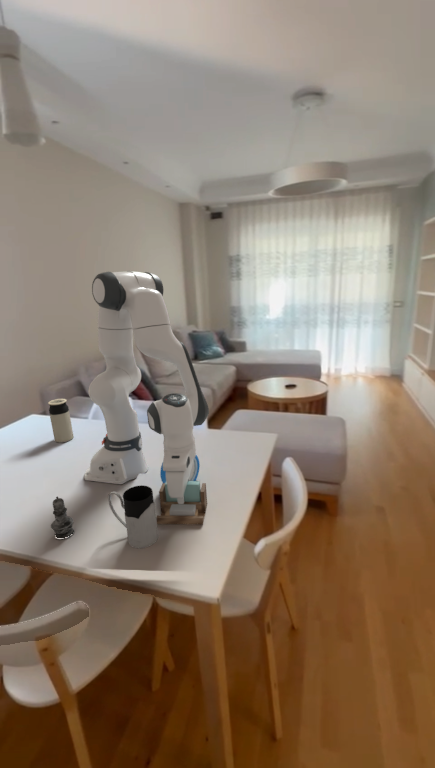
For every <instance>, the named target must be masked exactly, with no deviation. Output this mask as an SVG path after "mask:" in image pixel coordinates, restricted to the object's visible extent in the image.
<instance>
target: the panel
mask: <svg viewBox="0 0 435 768" xmlns="http://www.w3.org/2000/svg"><path fill="white" fill-rule="evenodd" d="M165 491H166V501H167V502H178V501H177V498H171V497H170V496H169V494H168V489H167V483H165ZM200 491H201V481H200V480H196V481H188V482H187V486H186V489H185V492H184V497H185V501H184V502H201V494H200Z"/></svg>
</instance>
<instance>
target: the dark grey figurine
mask: <svg viewBox="0 0 435 768" xmlns="http://www.w3.org/2000/svg"><path fill="white" fill-rule="evenodd" d="M52 507H53V511H52V514H53V515H54V519H55V520H54V521H52V523H50V524H51V525H50V528H51V529H52V531H53V532H54V535H56V537H57V538H65V537H68V536H70V535H71V534H73V532H74V533H75V529H74V528H73V524H74V518H73V517H72V516H68V515H67V511H68V508H67V507H66V504H65V500H64V499H63V498H60V497H59V496H56V497H55V499H54V500H53V501H52ZM55 533H56V534H55ZM73 535H74V534H73Z"/></svg>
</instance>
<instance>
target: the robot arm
mask: <svg viewBox="0 0 435 768" xmlns="http://www.w3.org/2000/svg"><path fill="white" fill-rule="evenodd" d="M91 292H92V293H91V294H92V298H93V300H94V302H95V303H96V304H97V305H98V311H97V337H98V338H97V339H98V341H97V342H98V351H99V353H101V355H102V356H103V359H104V361H105V364H106V368H105V370H104V371H103V372H101V373H99V374H97V375H96V376H95V377H94V378H93V380H91V382H90V384H89V385H88V396H89V398H90V400H91V401H92V403H94V404H95V405H97V406H98V407H99V408H100V410H101V413H102V415H103V418H104V422H105V429H106V434H105V437H103V440H102V441H101V446H102V447H101V448H100V449H98V451H96V452H95V453H94V454H93V456H92V457H91V459H90V463H89V466H88V468H87V469H86V470H85V472H84V480H85V481H89V482H90V481H92V482H97V483H98V482H99V483H108V484H115V485H122V484H125V483H127V482H128V481H131V480H134V479H137V478H138V476H139V475H140V474H141V475H143V474H146V472H147V471H148V470H149V465H148V463H147V461H146V459H145V455H144V451H143V440H142V433H141V431H140V427H139V426H140V425H139V419H138V418H139V417H138V413H137V411H136V410H135V408H133V407H132V404H131V402H130V398H129V395H130V394H131V393H132V392H133V391H135V390H136V389H137V388H138V386H139V385H140V383H141V380H142V371H141V369H140V368H139V366H137V361H136V357H135V354H134V353H135V352H134V343H135V345H136V348H137V349H138V350H139V352H140V353H142V354H143V355H144V356H147V357H149V358H152V359H154V360H160V361H165V362H167V363H169V364H172V365H173V366H175V368H176V369H177V371H178V373H179V377H180V380H181V382H182V385H183V388H184V394H182V393H176V392H174V393H173V392H172V393H168V394H166V395H164V396H162V398H161V399H157V400H156V401H152V402H151V404H149V406H148V408H147V410H146V416H147V423H148V427H149V429H150V430H152V431H153V432H155V433H156V434H159V435H163V443H162V444H163V461H162V463H163V471H166V483H167V489H168V494H169V496H170V497H171V498H177V501H178V504H184V501H185V497H184V492H185V489H186V486H187V482H188V481H190V473H191V470H192V466H193V462H194V458H195V456H196V455H197V452H196V450H197V449H196V440H195V439H196V438H195V436H194V432H193V430H194V427H197V426H202V425H203V424H204V423H205V422H206V420H207V418H208V417H209V413H210V411H209V405H208V404H209V403H208V402H207V400H206V397H205V396H204V393H203V392H202V388H201V385H200V382H199V379H198V377H197V373H196V371H195V367H194V365H193V361H192V358H191V356H190V353H189V350H188V349H187V347H186V345H185V343H183V342H182V341H180V340H178V339H177V337H176V336H175V334H174V333H173V332H174V331H173V330H172V326H171V320H170V315H169V312H168V308H167V305H166V302H165V299H164V285H163V282H162V280H161V278H160V277H159V276H158V275H157V274H155V273H151V272H149V271H148V272H147V271H145V272H142V271H137V270H136V271H135V270H134V271H133V270H127V271H114V272H113V271H112V272H111V271H106V272H105V271H104V272H100V273H98V274H96V275H95V277H94V278H93V280H92V284H91Z"/></svg>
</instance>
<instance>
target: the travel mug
mask: <svg viewBox="0 0 435 768" xmlns="http://www.w3.org/2000/svg"><path fill="white" fill-rule="evenodd" d="M67 400H68V399H66V398H56V399H52V400H50V401H48V403H47V404H48V405H49V408H48V412H49V417H50V422H51V428H52V434H53V438H54V442H55V443H66V442H69V441H71V440H72V439H73V438H74V431H73V427H72V421H71V420H72V419H71V414H70V409H69V406H68V405H67Z"/></svg>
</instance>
